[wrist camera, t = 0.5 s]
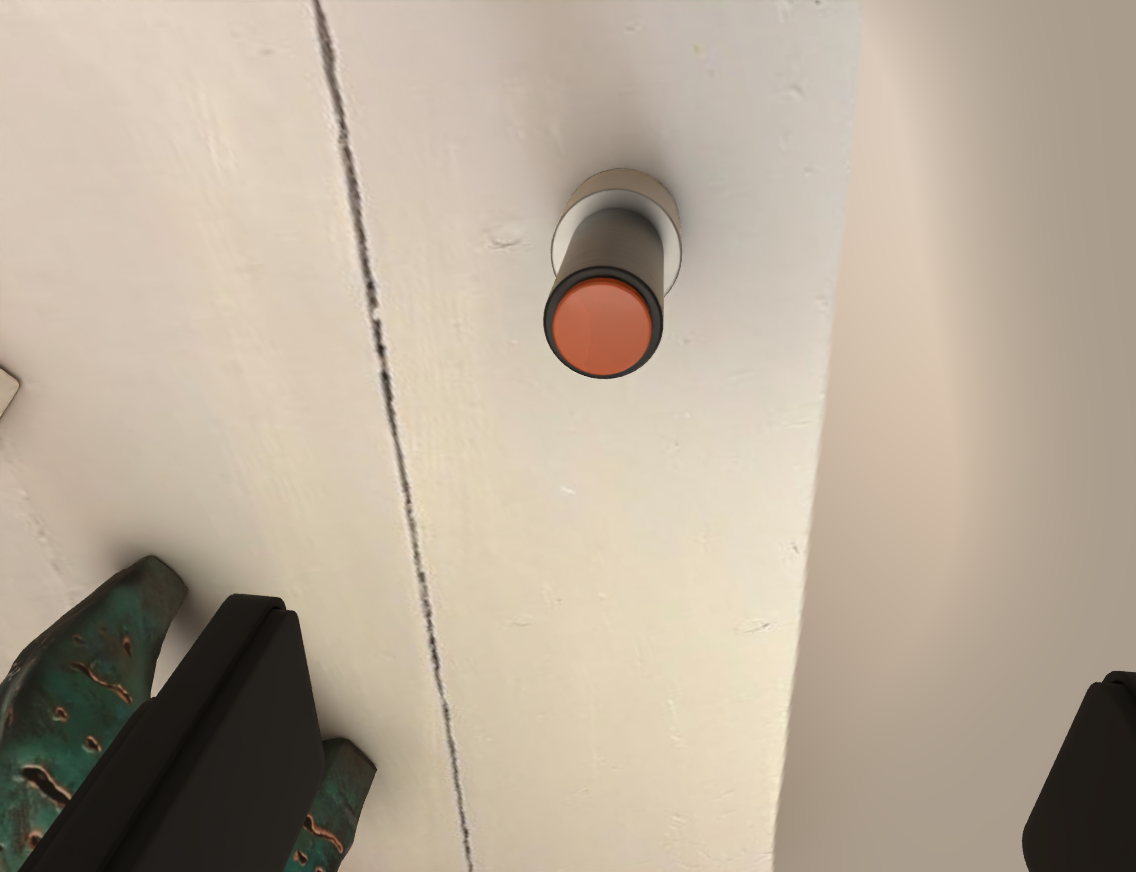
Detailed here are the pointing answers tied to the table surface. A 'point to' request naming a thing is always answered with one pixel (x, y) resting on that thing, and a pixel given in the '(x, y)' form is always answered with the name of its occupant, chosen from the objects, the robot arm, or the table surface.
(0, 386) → the medicine bottle
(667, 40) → the table surface
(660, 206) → the torch
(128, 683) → the ceramic cat
